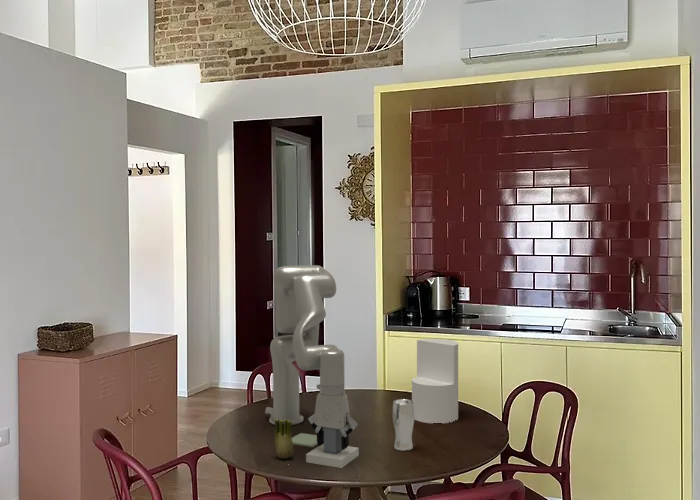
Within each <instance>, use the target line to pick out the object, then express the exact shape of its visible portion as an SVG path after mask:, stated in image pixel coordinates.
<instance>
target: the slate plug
mask: <svg viewBox="0 0 700 500" xmlns="http://www.w3.org/2000/svg"><path fill="white" fill-rule="evenodd" d="M323 431H324V453H331V454H337V453H339V452H340V451H341V437H342V432H341V431H340V429H331V428H323Z"/></svg>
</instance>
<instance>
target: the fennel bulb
mask: <svg viewBox="0 0 700 500" xmlns="http://www.w3.org/2000/svg"><path fill="white" fill-rule="evenodd" d="M291 424H292V422H291V421H288V420H287V419H285V421H284V420H278V419H276V420H275V424H274V428H275V429H274V447H275V452H276V456H277V457H278V458H279V460H288V459H291V458H292V457H293V455H294V444H293V442H292V438H293V437H292V426H293V425H291Z"/></svg>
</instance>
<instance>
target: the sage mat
mask: <svg viewBox="0 0 700 500" xmlns="http://www.w3.org/2000/svg"><path fill="white" fill-rule="evenodd" d="M292 442H293V446H295V445H296V446H302V447H308V448H314V447H315V446H318V442H317V434H310V433H305V432H304V433H303V432H299V434H296V435H294V436H293V437H292Z"/></svg>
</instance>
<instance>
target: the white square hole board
mask: <svg viewBox="0 0 700 500" xmlns="http://www.w3.org/2000/svg"><path fill="white" fill-rule="evenodd" d="M359 449H360V448H359V447H355V446H351V445H348V447H347V448H346V449H344V450H342V449H341V451H340V452H339V453H337V454H331V453H324V444H322V445H321V446H318V445H317V446H316V447H315V448H314V449H312V450H310V451H309V452H307V453H306V454H305V462H306V463H309V464H315V465H320V466H326V467H334V468H339V469H343V468H344V467H345V466H347V465H348V464H349V463H351V462H352V461H353V460H355V459H357V458H358V457H359V455H360V454H359V453H360V451H359Z"/></svg>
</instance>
